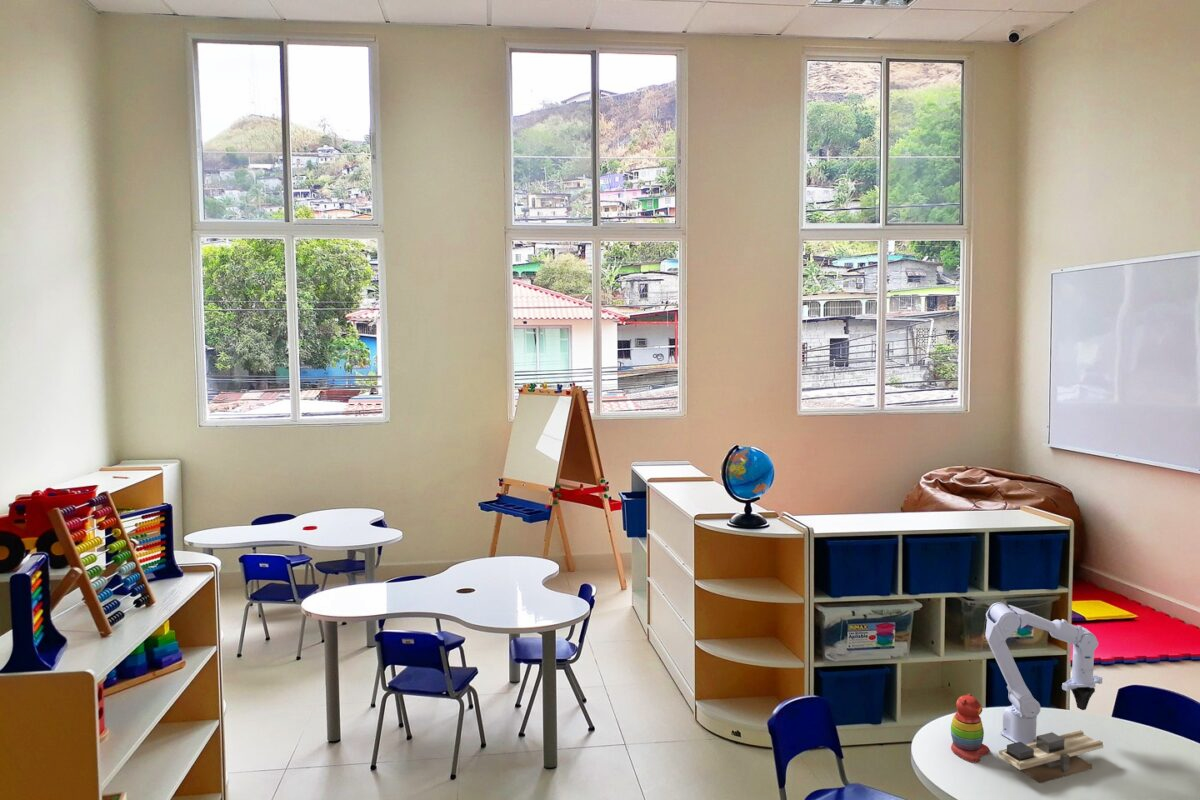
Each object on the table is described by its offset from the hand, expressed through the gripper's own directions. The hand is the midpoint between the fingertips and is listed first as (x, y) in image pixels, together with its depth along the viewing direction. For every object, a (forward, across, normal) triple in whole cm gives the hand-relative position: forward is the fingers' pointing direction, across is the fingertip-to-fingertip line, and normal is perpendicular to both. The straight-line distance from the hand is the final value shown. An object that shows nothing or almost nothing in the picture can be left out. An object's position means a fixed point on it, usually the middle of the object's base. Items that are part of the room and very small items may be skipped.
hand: (1081, 708), depth 267 cm
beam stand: (+10, -21, -8) cm, 25 cm away
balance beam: (+5, -21, -8) cm, 23 cm away
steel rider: (+5, -21, -8) cm, 23 cm away
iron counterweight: (+5, -33, -8) cm, 34 cm away
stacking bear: (+11, -37, +8) cm, 39 cm away
